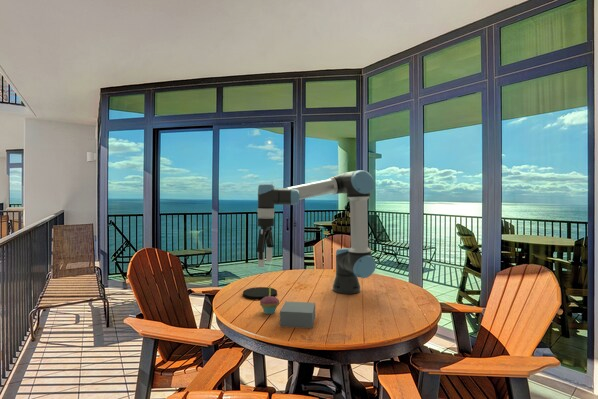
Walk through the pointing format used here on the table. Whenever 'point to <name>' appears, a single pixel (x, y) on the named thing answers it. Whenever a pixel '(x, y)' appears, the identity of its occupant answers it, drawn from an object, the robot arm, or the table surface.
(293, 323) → the plinth
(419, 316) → the table surface
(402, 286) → the table surface
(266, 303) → the cupcake
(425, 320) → the table surface
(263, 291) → the wireless charger
